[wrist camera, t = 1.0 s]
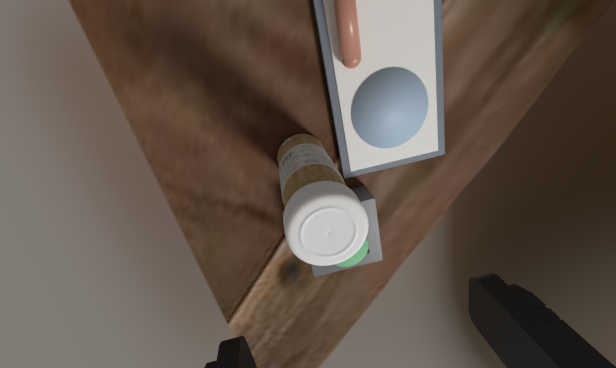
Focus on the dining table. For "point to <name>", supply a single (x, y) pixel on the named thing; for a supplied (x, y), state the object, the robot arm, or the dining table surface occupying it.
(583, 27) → the dining table surface
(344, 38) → the pink rounded rod
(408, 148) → the tray with round recess
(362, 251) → the button
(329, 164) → the sprinkles bottle
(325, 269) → the button box
